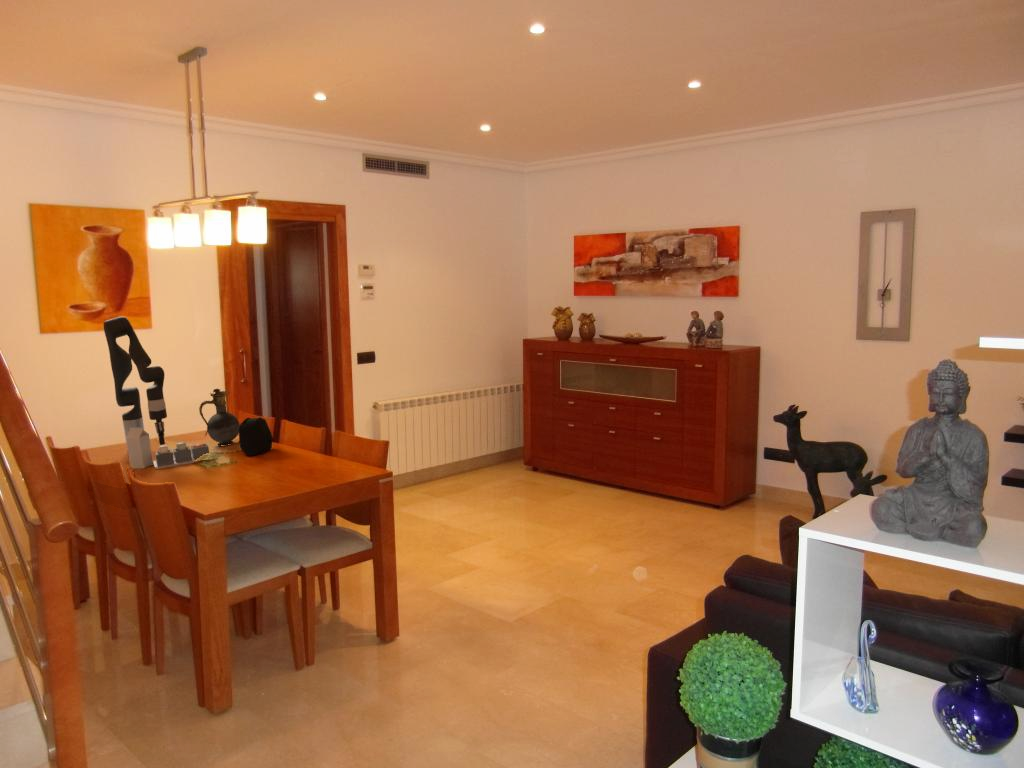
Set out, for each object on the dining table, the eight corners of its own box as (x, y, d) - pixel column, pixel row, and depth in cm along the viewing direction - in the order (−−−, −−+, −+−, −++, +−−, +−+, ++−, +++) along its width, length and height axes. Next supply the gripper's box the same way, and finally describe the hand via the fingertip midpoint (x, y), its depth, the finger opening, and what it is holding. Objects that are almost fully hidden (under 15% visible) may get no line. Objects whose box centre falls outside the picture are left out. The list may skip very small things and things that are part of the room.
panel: (153, 463, 370) (151, 451, 369) (209, 453, 382) (208, 441, 381) (155, 469, 358) (153, 457, 357) (214, 459, 370) (212, 447, 369)
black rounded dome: (281, 446, 386) (277, 413, 383) (267, 456, 369) (262, 421, 366) (247, 448, 388) (243, 414, 385) (231, 457, 371) (226, 422, 368)
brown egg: (195, 454, 374) (193, 444, 374) (204, 452, 377) (203, 442, 376) (196, 456, 371) (194, 446, 370) (206, 454, 373) (204, 444, 372)
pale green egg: (177, 453, 370) (175, 443, 370) (186, 451, 372) (185, 441, 372) (178, 455, 367) (176, 445, 366) (187, 453, 369) (186, 443, 368)
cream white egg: (159, 456, 367) (157, 446, 366) (168, 454, 369) (167, 444, 368) (159, 458, 363) (158, 448, 362) (169, 456, 365) (168, 446, 364)
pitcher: (244, 442, 400) (237, 386, 395) (209, 451, 387) (201, 392, 382) (235, 439, 408) (228, 384, 402) (200, 448, 394) (192, 390, 389)
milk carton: (143, 468, 361) (137, 429, 357) (130, 468, 362) (124, 429, 359) (153, 464, 368) (147, 425, 364) (140, 464, 369) (134, 426, 366)
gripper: (147, 407, 366) (152, 443, 369) (149, 412, 354) (154, 448, 357) (164, 405, 369) (169, 440, 372) (167, 409, 358) (172, 445, 361)
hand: (162, 444), depth 365 cm, fingers closed
